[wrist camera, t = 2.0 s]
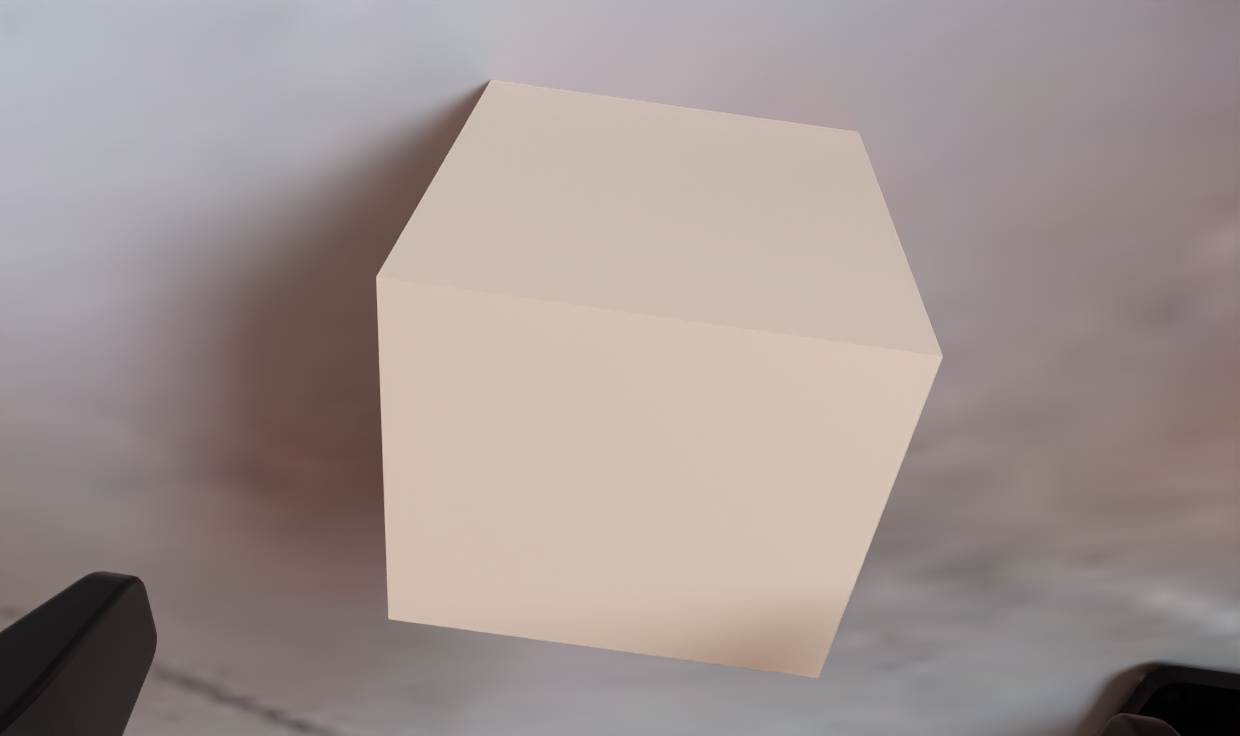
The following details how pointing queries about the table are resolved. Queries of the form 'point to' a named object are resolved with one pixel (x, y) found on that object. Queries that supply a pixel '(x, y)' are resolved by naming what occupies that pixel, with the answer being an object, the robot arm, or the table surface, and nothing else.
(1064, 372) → the table surface
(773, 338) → the beige cube
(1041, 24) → the table surface
